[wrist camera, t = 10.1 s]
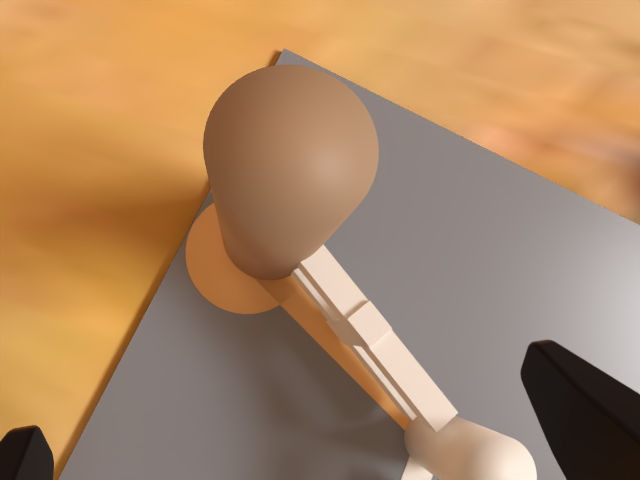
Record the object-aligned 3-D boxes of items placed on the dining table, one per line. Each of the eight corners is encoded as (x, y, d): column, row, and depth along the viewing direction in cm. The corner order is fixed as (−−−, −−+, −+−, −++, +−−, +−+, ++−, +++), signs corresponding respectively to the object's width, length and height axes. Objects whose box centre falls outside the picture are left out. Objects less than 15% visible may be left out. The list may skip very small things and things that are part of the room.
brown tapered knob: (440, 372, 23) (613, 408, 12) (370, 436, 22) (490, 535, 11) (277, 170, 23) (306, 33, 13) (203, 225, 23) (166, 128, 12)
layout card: (558, 876, 21) (563, 885, 20) (-22, 634, 20) (-26, 639, 19) (727, 272, 26) (733, 271, 26) (283, 51, 25) (284, 47, 25)
